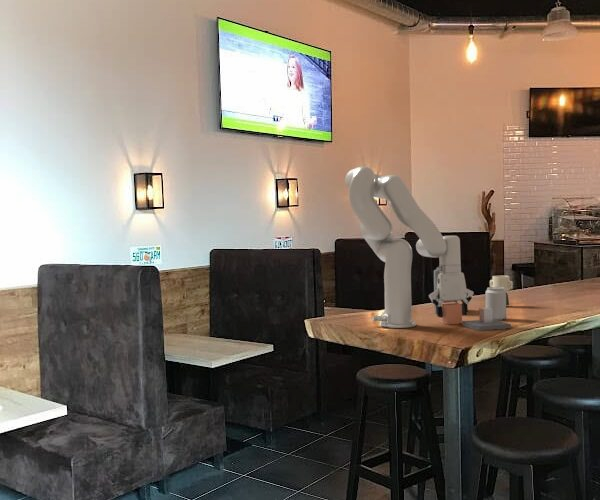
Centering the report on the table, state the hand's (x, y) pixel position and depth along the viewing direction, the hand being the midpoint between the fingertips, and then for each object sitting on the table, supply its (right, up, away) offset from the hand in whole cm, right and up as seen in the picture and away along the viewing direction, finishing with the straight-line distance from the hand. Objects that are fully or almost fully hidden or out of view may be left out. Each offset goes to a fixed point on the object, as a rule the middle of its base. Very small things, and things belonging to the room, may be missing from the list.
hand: (452, 315), depth 236 cm
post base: (+9, -3, -11) cm, 15 cm away
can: (+18, -2, +5) cm, 19 cm away
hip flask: (+4, -1, +29) cm, 29 cm away
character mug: (+30, 0, +39) cm, 49 cm away
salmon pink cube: (-1, -3, 0) cm, 2 cm away
